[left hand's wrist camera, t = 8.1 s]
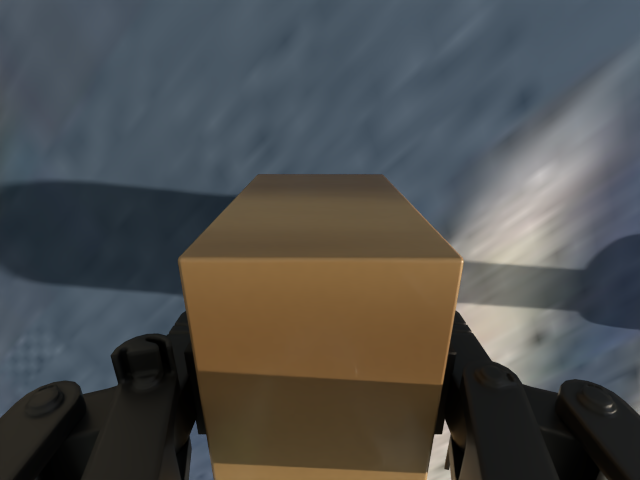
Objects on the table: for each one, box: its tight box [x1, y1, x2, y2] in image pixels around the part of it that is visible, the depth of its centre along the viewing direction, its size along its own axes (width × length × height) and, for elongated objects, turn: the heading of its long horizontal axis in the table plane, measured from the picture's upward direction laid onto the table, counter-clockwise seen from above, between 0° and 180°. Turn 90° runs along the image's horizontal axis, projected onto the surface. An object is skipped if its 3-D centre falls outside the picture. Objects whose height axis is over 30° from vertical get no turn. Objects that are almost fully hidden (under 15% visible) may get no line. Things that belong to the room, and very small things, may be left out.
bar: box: [178, 174, 464, 480], centre depth 14 cm, size 24×5×8 cm, turn 0°
